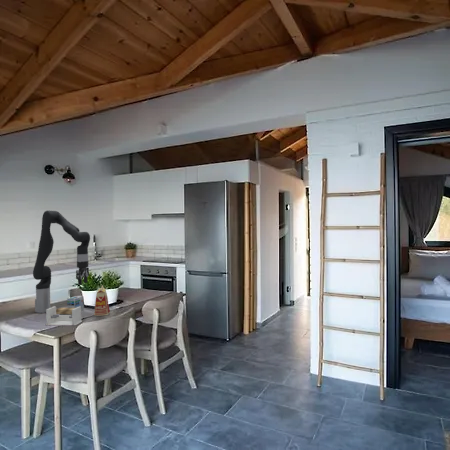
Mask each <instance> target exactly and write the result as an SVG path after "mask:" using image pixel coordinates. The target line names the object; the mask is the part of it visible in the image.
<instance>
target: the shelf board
mask: <svg viewBox="0 0 450 450" xmlns="http://www.w3.org/2000/svg"><path fill="white" fill-rule="evenodd" d="M72 309H75V308H67V307H58V308H56V315H60V314H72Z"/></svg>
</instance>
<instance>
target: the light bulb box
mask: <svg viewBox="0 0 450 450" xmlns="http://www.w3.org/2000/svg"><path fill="white" fill-rule="evenodd" d="M66 301H67V302H66V305H67V306H66V308H77V307H79V306H81V312H83V311H84V305H85V304H84V301H85V299H84V295H74V296H71V297H67V298H66Z"/></svg>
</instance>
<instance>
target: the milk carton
mask: <svg viewBox="0 0 450 450" xmlns="http://www.w3.org/2000/svg"><path fill="white" fill-rule="evenodd" d="M110 313H111V310H110V305H109V298H108V293H107V289H106V288H105V287H104V285H101V287H100V288H98V290H97V291H96V295H95V303H94V314H93V315H94V316H98V317H99V316H101V317H102V316H108V315H109V314H110Z"/></svg>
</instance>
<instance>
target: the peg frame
mask: <svg viewBox="0 0 450 450" xmlns="http://www.w3.org/2000/svg"><path fill="white" fill-rule="evenodd" d="M56 309H57V306H56V305H53V306H52V307H51V306H50V308H49V309H46V312H45V313H46V319H45V320H46V324H45V326H77V325H79V324H81V323H82V322H83V320H82V311H81V306H79V307H77V308H75V309H72V315H60V314H56Z"/></svg>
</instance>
